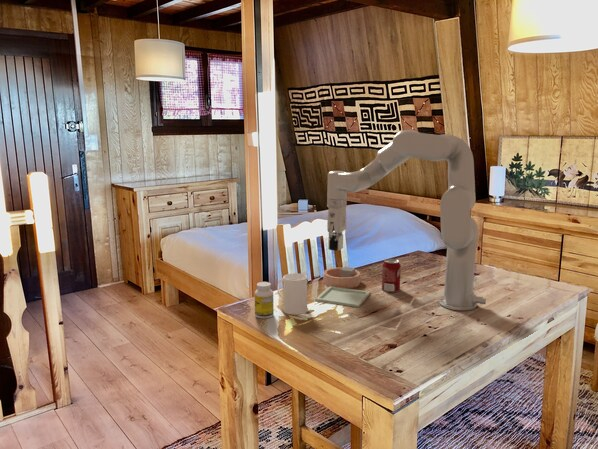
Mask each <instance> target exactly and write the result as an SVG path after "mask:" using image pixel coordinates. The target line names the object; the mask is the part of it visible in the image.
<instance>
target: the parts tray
mask: <svg viewBox="0 0 598 449" xmlns="http://www.w3.org/2000/svg"><path fill="white" fill-rule="evenodd" d="M370 295H371V291H367V290H361V289H353V288H340V287H332V286H327V287H326V289H325V290H323V291H322V292H321V293H320V294H319V295H317V296H316V297H315V302H321V303H328V304H333V305H340V306H348V307H352V308H353V307H354V308H360V306H361V305H362V304H363V303H364V301H365V300H366V299H367V298H368V297H369V296H370Z"/></svg>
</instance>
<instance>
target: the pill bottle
mask: <svg viewBox="0 0 598 449" xmlns="http://www.w3.org/2000/svg"><path fill="white" fill-rule="evenodd" d="M271 288H272V283H271V282H270V281H269V282H268V281H260V282H257V284H256V290H255V291H254V316H255V317H256V318H257V319H258V318H259V319H270V318H272V317H274V311H275V308H274V291H273V290H272V289H271Z"/></svg>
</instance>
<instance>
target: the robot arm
mask: <svg viewBox="0 0 598 449" xmlns="http://www.w3.org/2000/svg"><path fill="white" fill-rule="evenodd" d="M411 158H412V159H419V160H423V161H424V160H425V161H431V162H443V161H447V165H448V167H447V182H448V183H447V186H448V187H447V190H446V191H444V192H443V194H442V196H441V199H440V203H439V204H440V205H439V209H440V210H439V212H440V233H441V240H442V241H443V243H444V244H445V246H446V247H447V248H446V256H445V257H446V260H445V261H446V262H445V278H444V290H443V296H441V297H440V298H439V299H438V303H439V305H440V306H442V308H445V309H449V310H452V311H453V310H454V311H464V312H465V311H472V310H475V309H476V308H477V304H480V305H486V304H487V298H484V297H483V296H478V295H476V294H475V292H474V281H475V266H476V256H477V255H476V254H477V246H478V240H479V226H478V223H477V222H476V220H475V219H474V218H472V217H471V210H472V209H473V208H474V206H475V205H476V184H475V183H476V180H475V178H476V177H475V162H474V161H475V160H474V155H473V152H472V150H471V148H470V146H469V144H468V143H467V142H466V141H465V140H464V139H462V138H460V137H459V136H455V135H453V134H448V133H445V134H431V133H424V132H419V130H415V129H404V130H400V131H399V132H397V133H396V134H395V135H394V137H393V138H392V141H391V142H390V143H388V144H386V145H385V146H384V147H382V148H381V149H379V150H378V151H377V153H376V157H375V158H374V159H373V160H372V161H371V162H370V163H368V164H367V165H366V166H365V167H363V168H361V169H359V170H357V171H351V172H346V171H344V170H331V171H329V172H328V173H327V188H326V189H327V193H326V195H327V196H326V197H327V198H326V207H327V208H328V211H327V226H326V227H327V229H326V230H327V232H328V241H329V240H330V247H329V249H328V250H329V251H339V250H338V240H337V235H338V234H343V232H345V230H347V209H346V208H347V198H348V196H347V195H348V193H357V192H360V191H365V190H367V189H369V188H370V187H372V186H373V185H375V184H376V183H378V182H379V181H380V180H382V179H383V178H385V177H386V176H387V175H389V174H390V173H391V172H392V171H393V170H394V169H397V167H399V166H401V165H402V164H404V163H405V162H407V161H408V160H410V159H411ZM333 234H335V235H333ZM329 237H330V238H329Z"/></svg>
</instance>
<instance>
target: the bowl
mask: <svg viewBox="0 0 598 449" xmlns="http://www.w3.org/2000/svg"><path fill="white" fill-rule="evenodd" d="M342 268H343V267H331V268H326V269H325V270H323V279H322V280H323V284H324V285H325V286H326V287H329V286H332V287H340V288H347V289H353V288H355V287H358V286H360V285H361V272H360V270H357V269H355V276H352V277H340V275H341V269H342Z"/></svg>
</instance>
